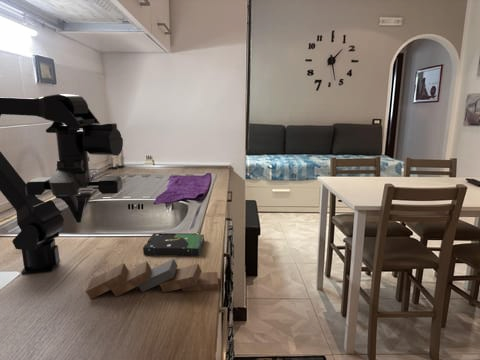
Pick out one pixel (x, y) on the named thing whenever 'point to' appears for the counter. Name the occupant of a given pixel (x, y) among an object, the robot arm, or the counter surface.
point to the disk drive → (174, 244)
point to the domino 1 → (107, 281)
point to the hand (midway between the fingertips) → (79, 222)
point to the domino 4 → (182, 278)
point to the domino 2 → (134, 278)
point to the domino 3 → (160, 274)
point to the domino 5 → (205, 282)
